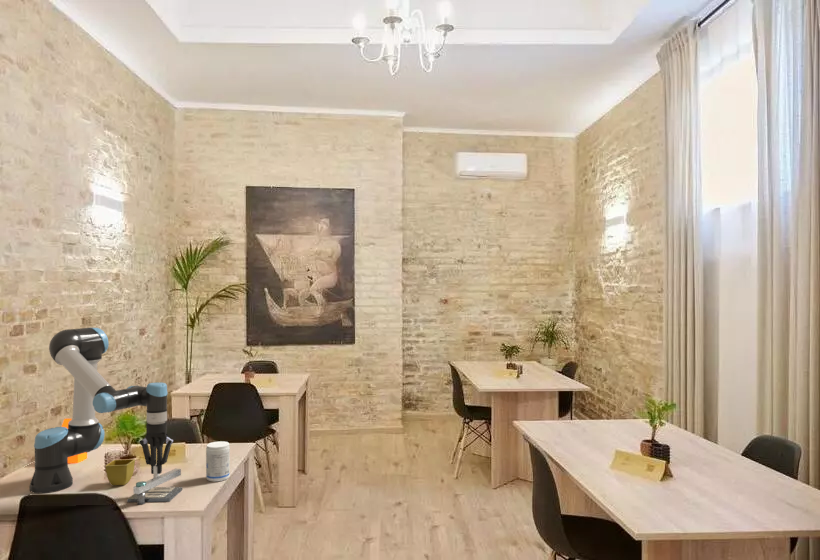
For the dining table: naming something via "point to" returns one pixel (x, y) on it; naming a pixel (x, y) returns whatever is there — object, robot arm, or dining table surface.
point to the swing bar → (156, 481)
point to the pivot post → (141, 498)
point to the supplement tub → (217, 461)
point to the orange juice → (75, 458)
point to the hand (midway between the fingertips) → (156, 481)
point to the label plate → (158, 494)
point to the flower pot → (120, 471)
